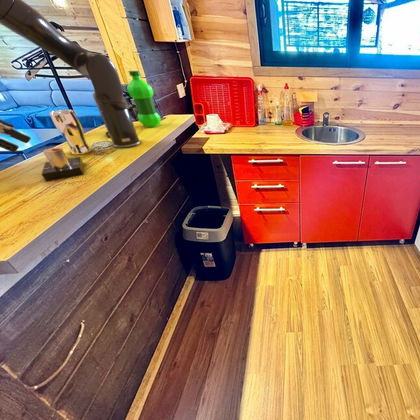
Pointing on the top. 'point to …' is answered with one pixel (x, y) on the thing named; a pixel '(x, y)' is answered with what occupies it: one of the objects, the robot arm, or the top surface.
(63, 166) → the dial
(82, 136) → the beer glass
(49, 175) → the black flat block
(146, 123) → the plastic bottle
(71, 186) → the top surface
